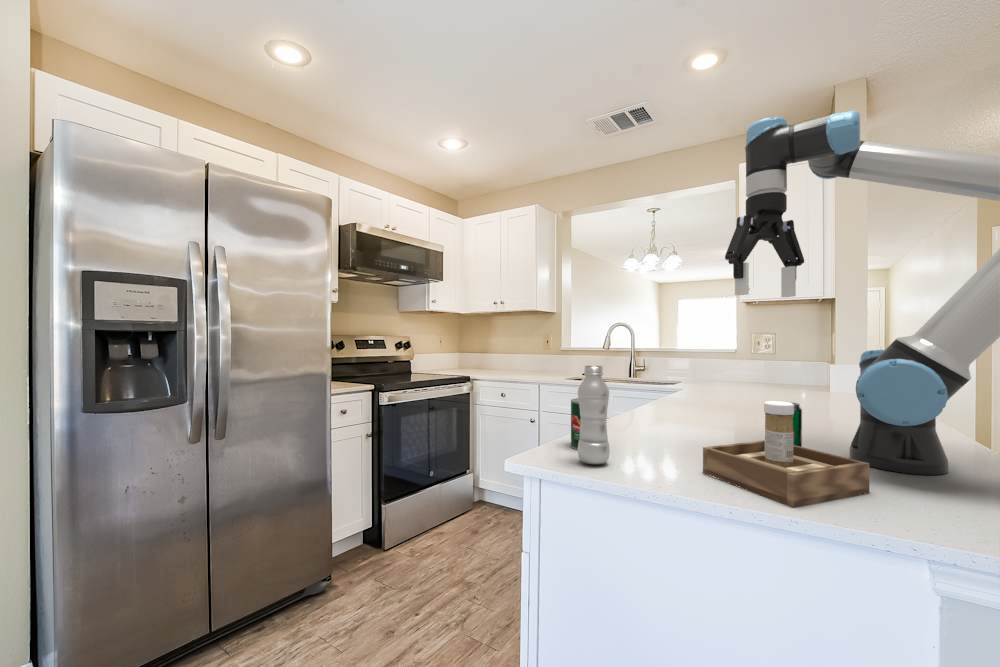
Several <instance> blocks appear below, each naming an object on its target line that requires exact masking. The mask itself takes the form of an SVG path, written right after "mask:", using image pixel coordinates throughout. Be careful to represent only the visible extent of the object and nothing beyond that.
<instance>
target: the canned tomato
mask: <svg viewBox="0 0 1000 667" xmlns="http://www.w3.org/2000/svg"><path fill="white" fill-rule="evenodd" d="M580 419H581V417H580V407H579V400H578V397H576V398H572V399H570V444H571V445H570V447H571V448H572V449H573V450H578V443H579V440H580V439H579V438H580V425H581V422H580Z"/></svg>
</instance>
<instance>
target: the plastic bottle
mask: <svg viewBox="0 0 1000 667" xmlns="http://www.w3.org/2000/svg"><path fill="white" fill-rule="evenodd" d="M583 374H584V375H583V376H585V377H584V379H583V380H582V382H581V383H580V384H579V386H578V388H577V398H578V400H579V407H580V417H581V419H580V422H581V425H580V438H579V439H580V440H579V443H578V450H577V456H578V459H579V460H580V462H582V463H584V464H588V465H604V464H606V463H607V462H608V460H609V459H610V452H611V450H610V443H609V441H608V440H609V436H608V429H607V422H608V420H607V417H608V406H609V400H610V399H609V397H610V390H609V387H608V385H607V383H606V382H605V381H604V380H603V377H602V376H604V372H603V365H584V373H583Z"/></svg>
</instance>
